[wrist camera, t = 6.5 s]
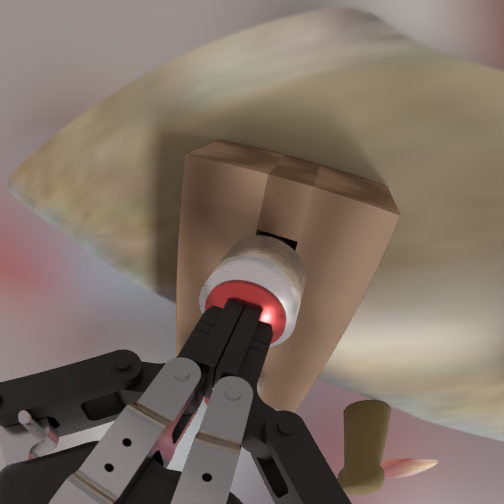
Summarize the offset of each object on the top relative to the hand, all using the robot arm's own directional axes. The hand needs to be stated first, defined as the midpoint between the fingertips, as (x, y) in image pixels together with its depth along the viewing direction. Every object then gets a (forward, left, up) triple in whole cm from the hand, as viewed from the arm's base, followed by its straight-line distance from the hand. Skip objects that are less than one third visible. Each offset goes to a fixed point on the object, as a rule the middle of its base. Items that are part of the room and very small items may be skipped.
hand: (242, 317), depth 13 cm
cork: (-16, +21, -11) cm, 29 cm away
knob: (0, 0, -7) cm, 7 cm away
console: (0, +6, -11) cm, 12 cm away
